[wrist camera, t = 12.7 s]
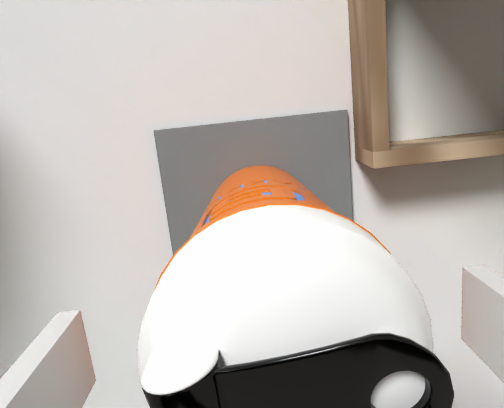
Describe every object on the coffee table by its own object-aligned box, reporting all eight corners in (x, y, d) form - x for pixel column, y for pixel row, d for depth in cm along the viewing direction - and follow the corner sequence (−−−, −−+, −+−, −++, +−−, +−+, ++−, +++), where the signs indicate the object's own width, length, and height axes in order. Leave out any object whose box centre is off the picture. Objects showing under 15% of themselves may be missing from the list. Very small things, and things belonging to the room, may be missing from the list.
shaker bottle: (343, 242, 30) (534, 496, 10) (231, 293, 30) (215, 622, 11) (291, 128, 28) (408, 179, 8) (173, 185, 29) (30, 355, 9)
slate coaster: (182, 305, 31) (181, 308, 31) (154, 130, 28) (153, 130, 28) (354, 286, 31) (356, 289, 31) (345, 109, 28) (347, 109, 28)
